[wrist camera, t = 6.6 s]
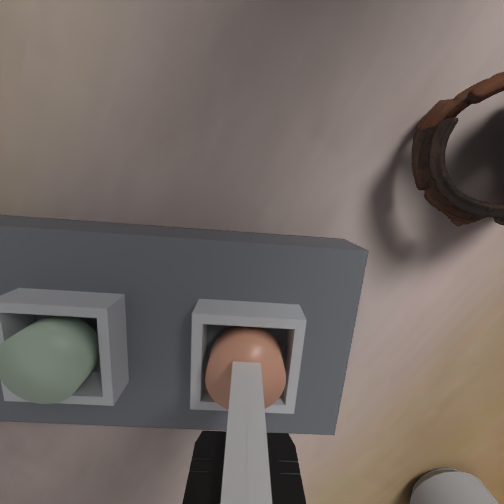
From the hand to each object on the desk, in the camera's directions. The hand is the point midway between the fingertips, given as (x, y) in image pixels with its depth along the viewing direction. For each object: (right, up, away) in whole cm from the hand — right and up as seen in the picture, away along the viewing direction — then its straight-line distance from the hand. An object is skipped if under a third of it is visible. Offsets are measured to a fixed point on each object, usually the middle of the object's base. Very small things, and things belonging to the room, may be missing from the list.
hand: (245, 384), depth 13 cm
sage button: (-11, +1, +2) cm, 11 cm away
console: (-11, +3, +7) cm, 13 cm away
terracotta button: (0, +1, +2) cm, 2 cm away
